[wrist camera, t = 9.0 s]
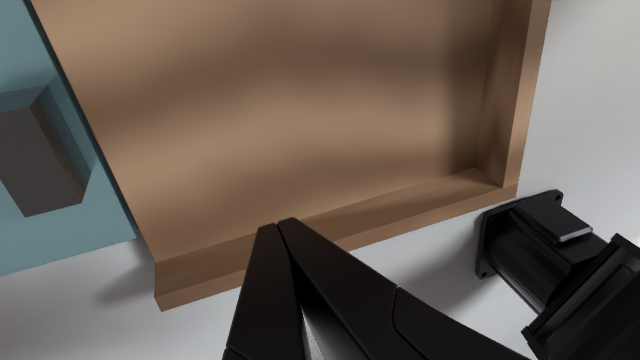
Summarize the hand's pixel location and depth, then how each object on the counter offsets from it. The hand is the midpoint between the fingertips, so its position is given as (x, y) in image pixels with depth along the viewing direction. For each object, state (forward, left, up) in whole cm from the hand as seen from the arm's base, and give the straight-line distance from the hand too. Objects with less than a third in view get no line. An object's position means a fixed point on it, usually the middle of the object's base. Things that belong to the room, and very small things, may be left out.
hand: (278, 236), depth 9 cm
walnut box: (0, -4, -11) cm, 12 cm away
